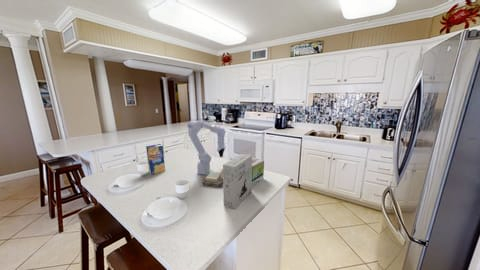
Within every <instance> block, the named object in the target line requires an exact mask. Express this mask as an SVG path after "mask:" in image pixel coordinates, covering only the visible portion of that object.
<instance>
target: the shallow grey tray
mask: <svg viewBox="0 0 480 270" xmlns="http://www.w3.org/2000/svg"><path fill="white" fill-rule="evenodd" d="M201 185H202V186H204V187H212V188H219V189H221V188H222V187H223V178H221V180H220V181H219V183H212V182H206V178H204V179H203V181H202V182H201Z"/></svg>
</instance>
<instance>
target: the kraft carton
mask: <svg viewBox="0 0 480 270" xmlns="http://www.w3.org/2000/svg"><path fill="white" fill-rule="evenodd" d="M222 177H223V171H215V170H212V171H211V172H210V173H209V174H208V175H206V177H205V179H206V182H212V183H220V182H221V181H222V179H223V178H222Z"/></svg>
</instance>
